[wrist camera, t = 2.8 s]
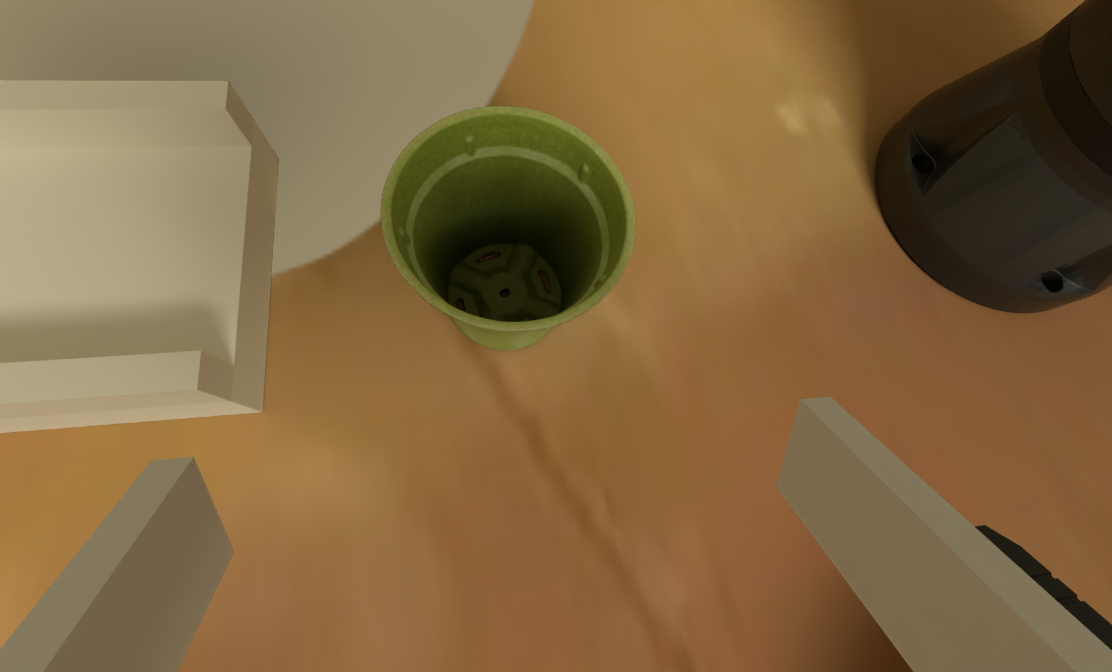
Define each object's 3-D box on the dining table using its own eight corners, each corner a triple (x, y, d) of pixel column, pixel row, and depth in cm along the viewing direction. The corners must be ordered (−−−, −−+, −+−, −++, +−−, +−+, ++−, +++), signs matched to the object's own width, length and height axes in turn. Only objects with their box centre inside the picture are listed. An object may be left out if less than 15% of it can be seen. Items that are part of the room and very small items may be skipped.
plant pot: (548, 196, 29) (569, 78, 21) (623, 340, 27) (679, 273, 19) (389, 251, 27) (344, 145, 19) (457, 412, 25) (439, 372, 17)
